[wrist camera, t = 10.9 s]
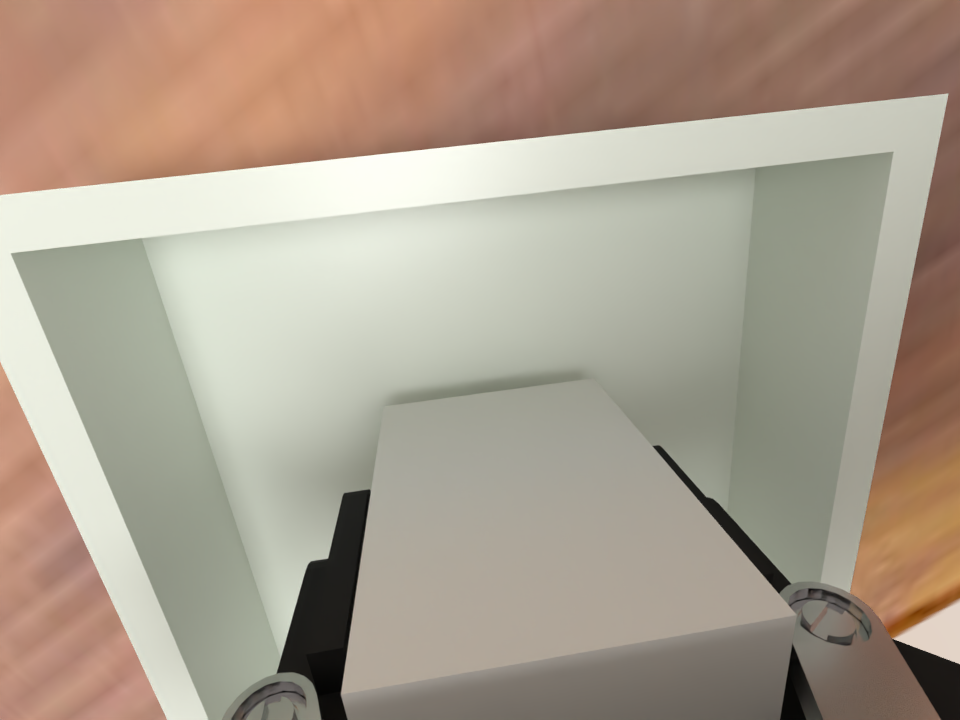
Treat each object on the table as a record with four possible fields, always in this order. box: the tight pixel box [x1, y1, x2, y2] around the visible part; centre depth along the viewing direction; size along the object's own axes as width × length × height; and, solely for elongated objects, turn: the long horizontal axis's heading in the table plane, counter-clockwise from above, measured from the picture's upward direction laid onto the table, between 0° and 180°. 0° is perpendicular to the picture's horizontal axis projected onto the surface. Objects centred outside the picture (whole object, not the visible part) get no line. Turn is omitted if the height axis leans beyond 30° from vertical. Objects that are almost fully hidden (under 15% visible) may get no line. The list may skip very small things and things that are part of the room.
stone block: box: [341, 378, 797, 720], centre depth 10 cm, size 5×5×7 cm
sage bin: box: [0, 94, 948, 720], centre depth 13 cm, size 16×16×4 cm
